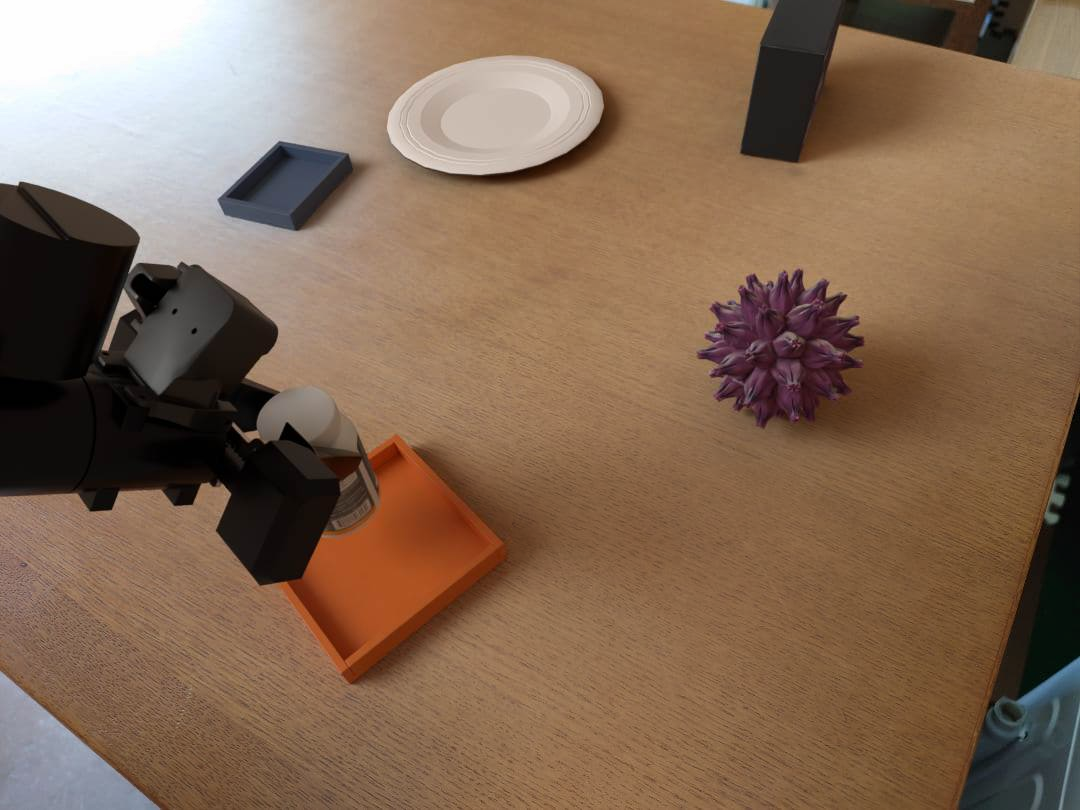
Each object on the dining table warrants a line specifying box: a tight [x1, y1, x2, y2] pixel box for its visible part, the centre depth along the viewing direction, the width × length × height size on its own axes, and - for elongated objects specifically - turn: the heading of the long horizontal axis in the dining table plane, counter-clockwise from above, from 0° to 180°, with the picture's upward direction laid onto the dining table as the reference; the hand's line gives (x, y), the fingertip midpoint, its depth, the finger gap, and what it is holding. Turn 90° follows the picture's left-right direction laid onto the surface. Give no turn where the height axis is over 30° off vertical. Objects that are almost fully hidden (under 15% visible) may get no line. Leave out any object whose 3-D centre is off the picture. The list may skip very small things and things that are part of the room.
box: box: [739, 0, 846, 163], centre depth 81 cm, size 17×7×12 cm, turn 158°
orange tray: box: [276, 433, 508, 685], centre depth 55 cm, size 13×13×2 cm
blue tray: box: [217, 140, 354, 232], centre depth 84 cm, size 11×9×2 cm
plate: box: [386, 54, 605, 177], centre depth 89 cm, size 25×25×2 cm
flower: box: [696, 268, 866, 430], centre depth 57 cm, size 12×12×12 cm
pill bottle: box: [256, 385, 381, 538], centre depth 49 cm, size 6×6×10 cm
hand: (331, 435), depth 48 cm, fingers closed on pill bottle, 5 cm apart
